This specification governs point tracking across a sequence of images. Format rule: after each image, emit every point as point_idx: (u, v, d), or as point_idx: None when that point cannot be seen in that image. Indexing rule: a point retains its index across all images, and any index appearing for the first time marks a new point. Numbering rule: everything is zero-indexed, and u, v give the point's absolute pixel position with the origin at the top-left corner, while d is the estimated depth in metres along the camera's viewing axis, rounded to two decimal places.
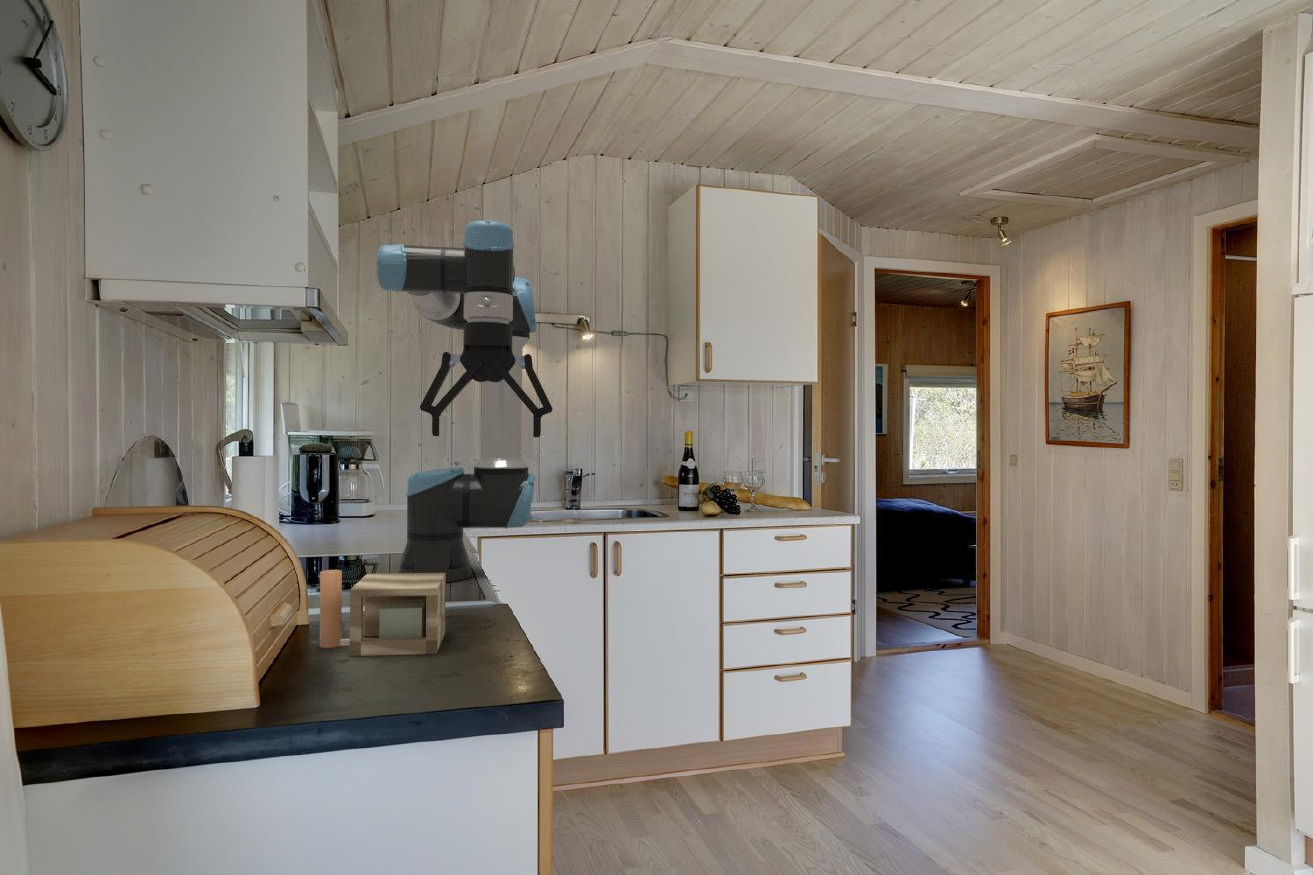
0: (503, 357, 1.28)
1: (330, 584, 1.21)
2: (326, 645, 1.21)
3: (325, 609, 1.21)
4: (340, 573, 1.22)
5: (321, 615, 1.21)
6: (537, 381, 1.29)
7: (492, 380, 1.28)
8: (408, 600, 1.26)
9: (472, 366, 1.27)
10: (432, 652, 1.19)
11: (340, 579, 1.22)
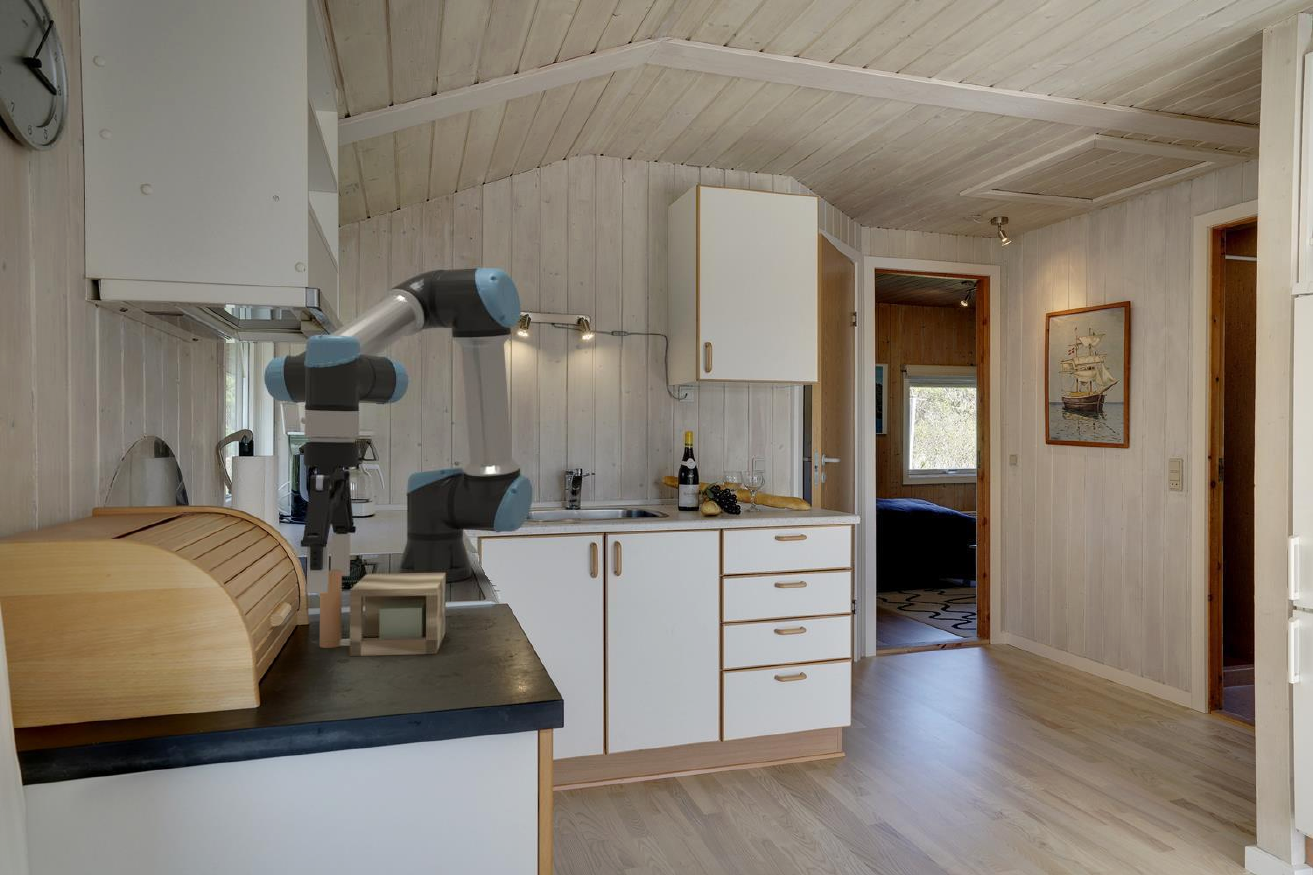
0: None
1: (330, 584, 1.21)
2: (326, 645, 1.21)
3: (325, 609, 1.21)
4: (340, 573, 1.22)
5: (321, 615, 1.21)
6: (308, 506, 1.14)
7: None
8: (408, 600, 1.26)
9: None
10: (432, 652, 1.19)
11: (340, 579, 1.22)
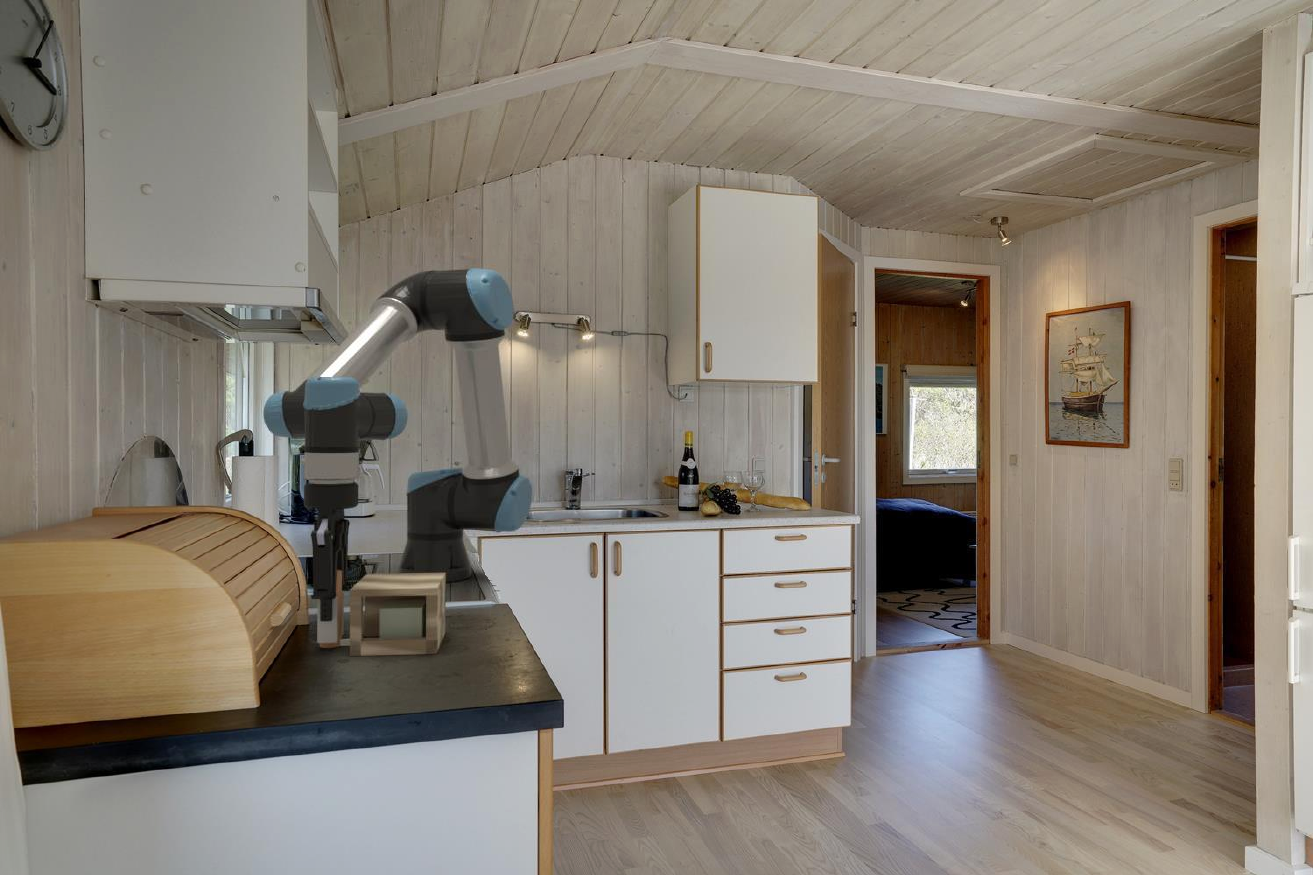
0: None
1: None
2: (326, 645, 1.21)
3: None
4: (340, 573, 1.22)
5: None
6: (313, 561, 1.17)
7: None
8: (408, 600, 1.26)
9: None
10: (432, 652, 1.19)
11: (340, 579, 1.22)
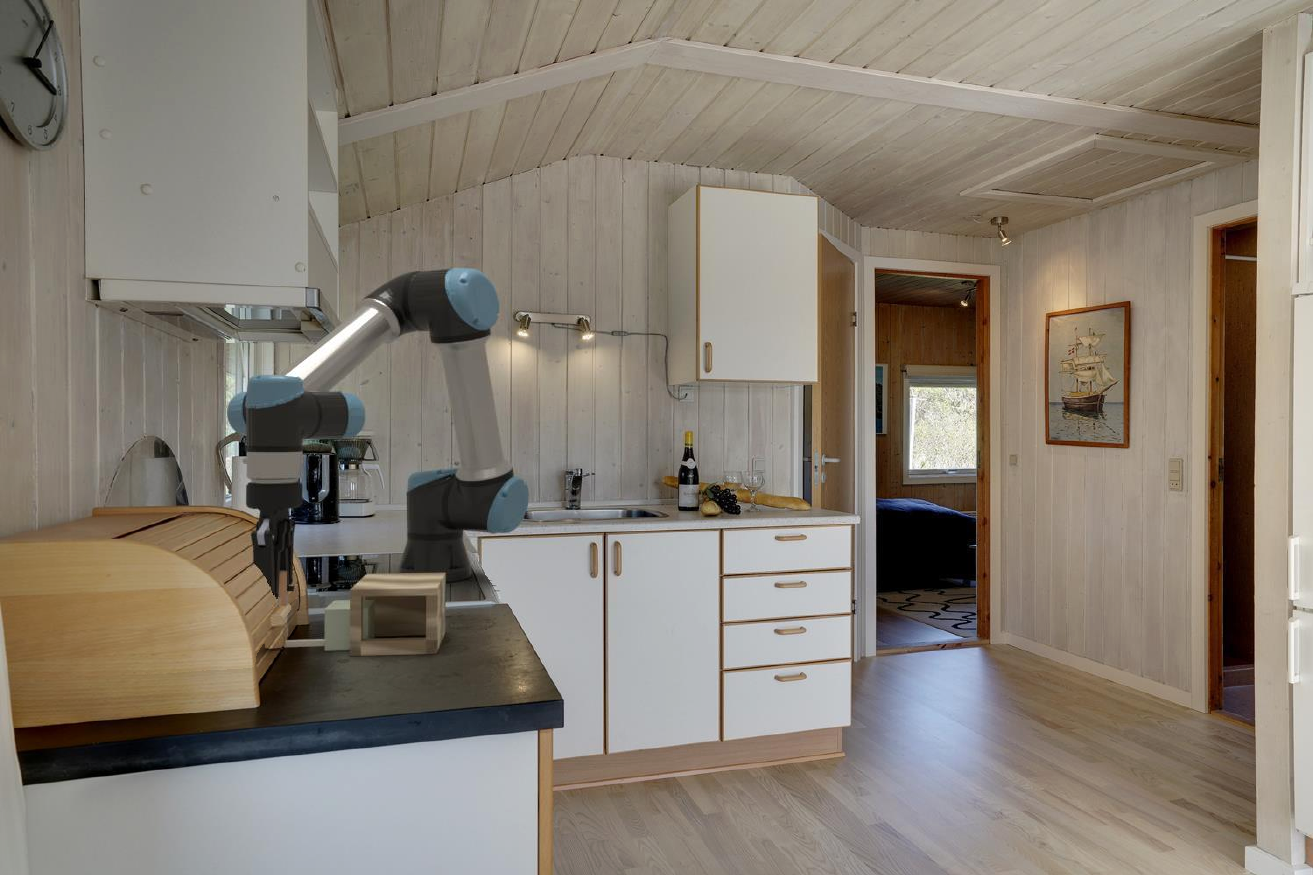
0: None
1: None
2: None
3: None
4: (285, 574, 1.21)
5: None
6: None
7: None
8: None
9: None
10: (432, 652, 1.19)
11: (285, 580, 1.21)
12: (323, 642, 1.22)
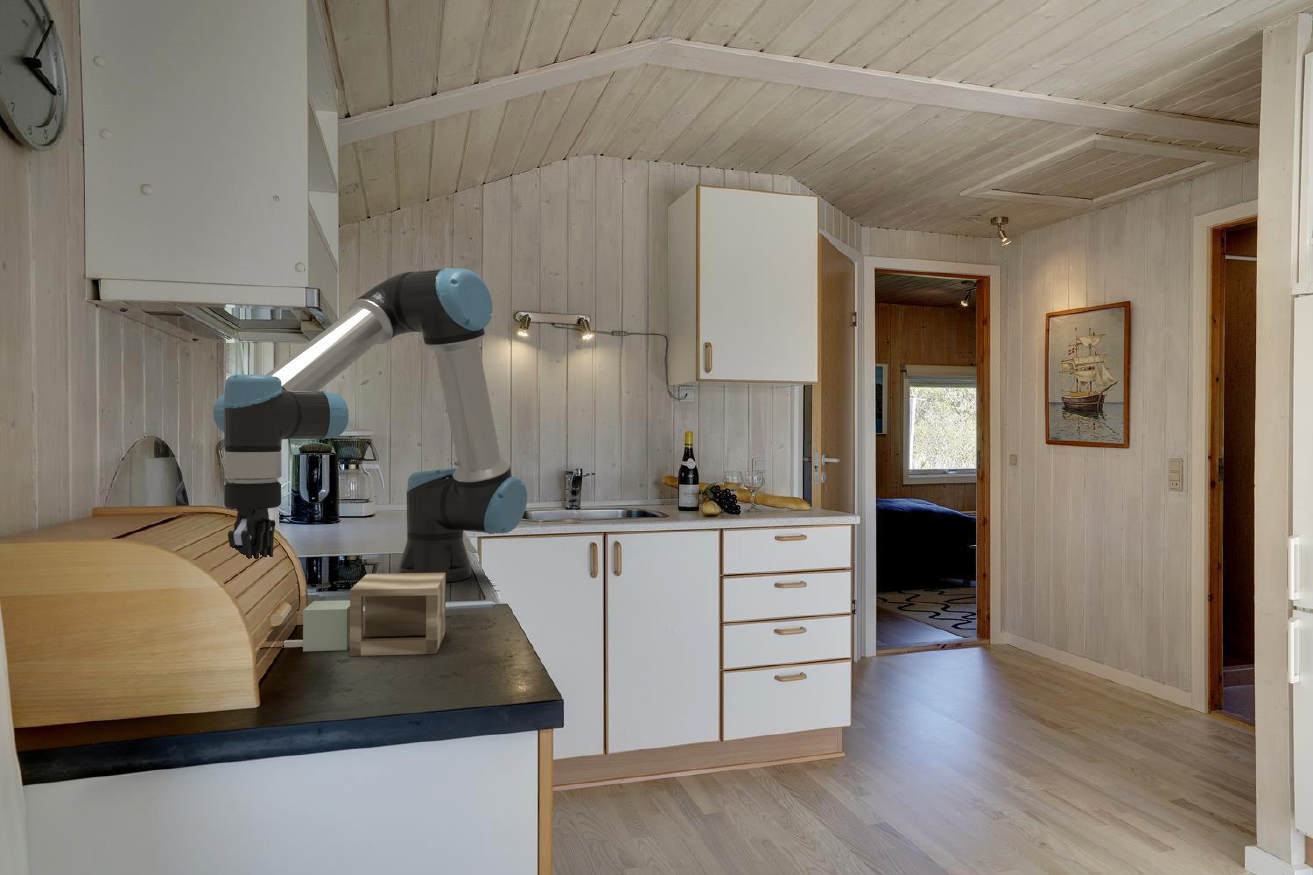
0: None
1: None
2: None
3: None
4: None
5: None
6: None
7: None
8: (335, 601, 1.25)
9: None
10: (432, 652, 1.19)
11: None
12: (302, 642, 1.21)
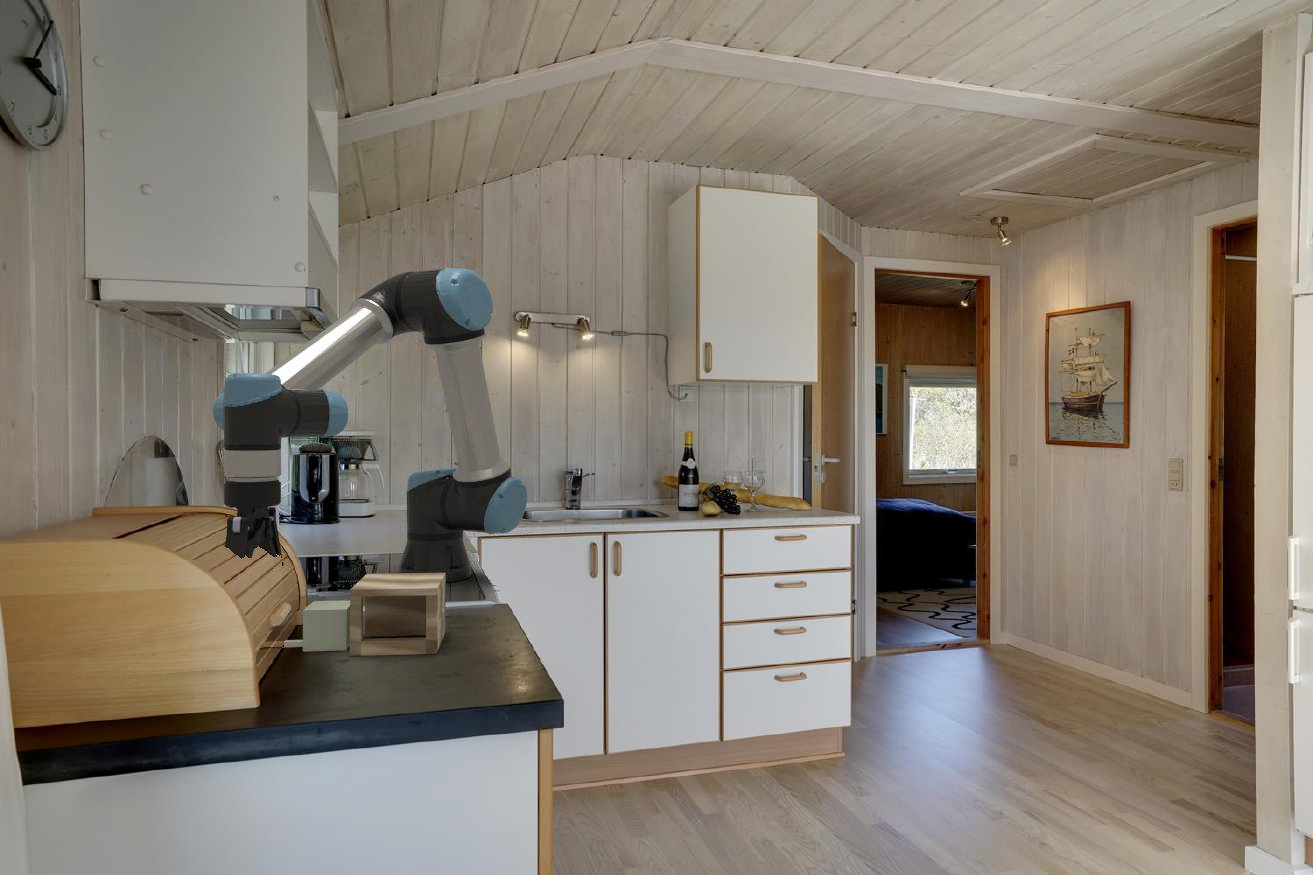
0: None
1: None
2: None
3: None
4: None
5: None
6: None
7: None
8: (335, 601, 1.25)
9: None
10: (432, 652, 1.19)
11: None
12: (302, 643, 1.21)
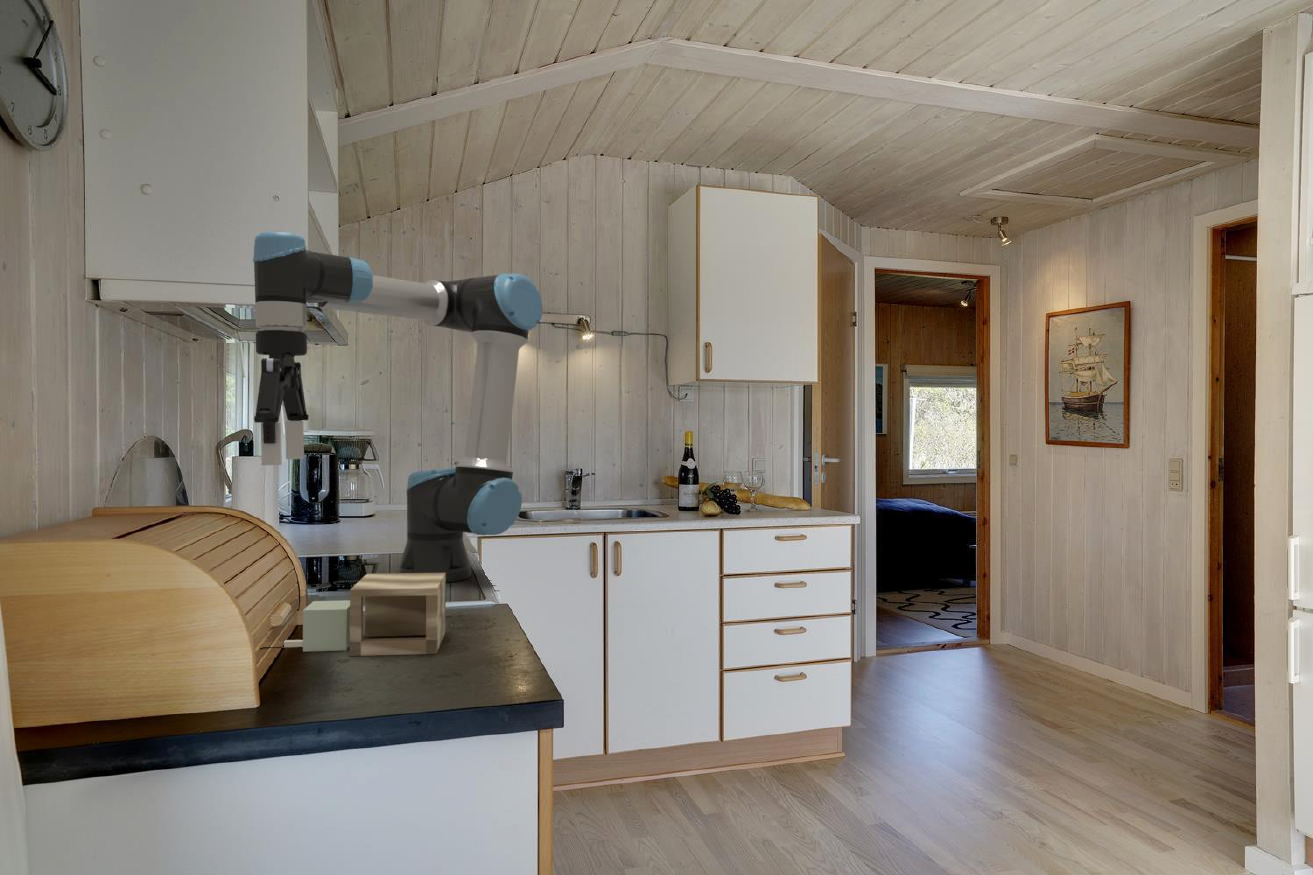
0: None
1: None
2: None
3: None
4: None
5: None
6: None
7: None
8: (335, 601, 1.25)
9: None
10: (432, 652, 1.19)
11: None
12: (302, 643, 1.21)
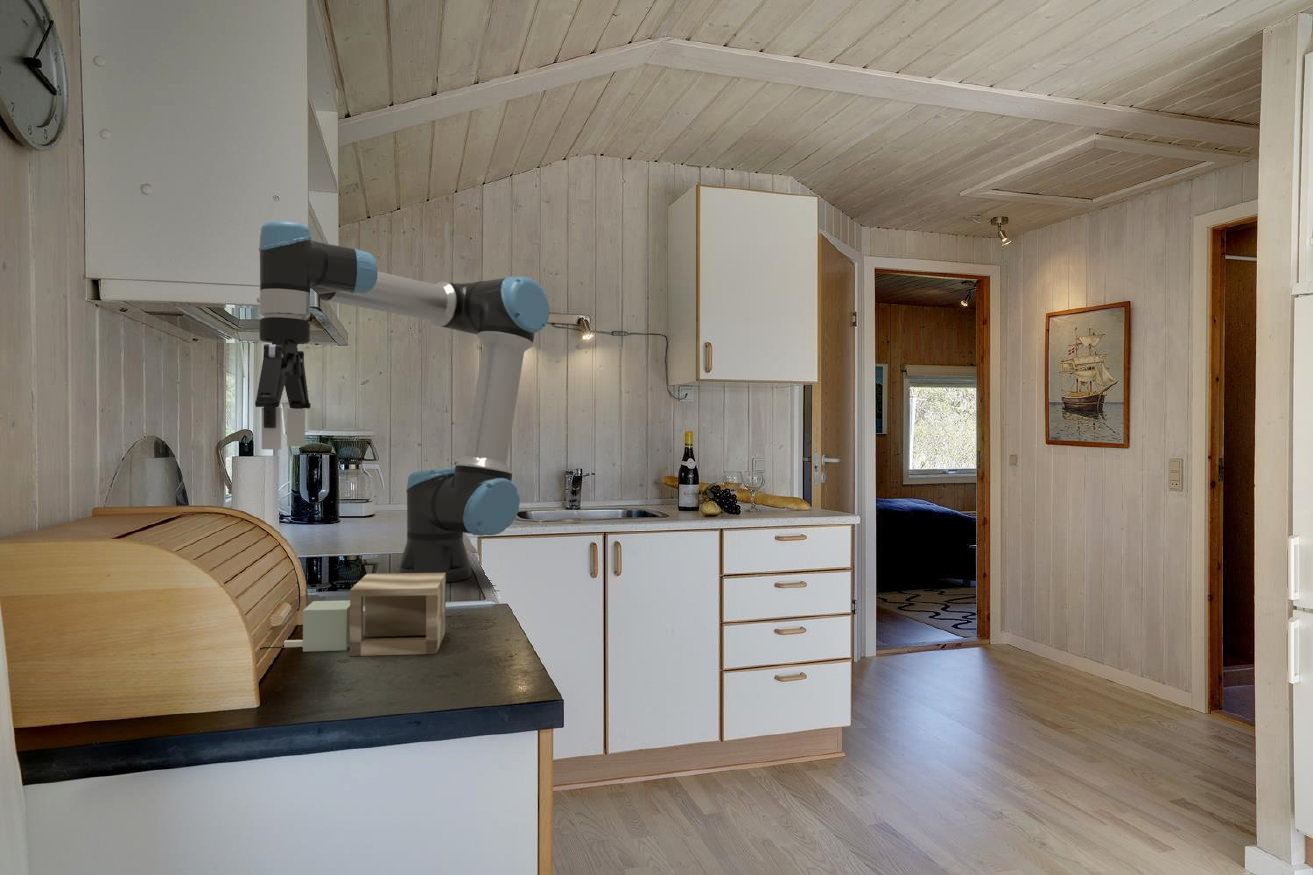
0: None
1: None
2: None
3: None
4: None
5: None
6: None
7: None
8: (335, 601, 1.25)
9: None
10: (432, 652, 1.19)
11: None
12: (302, 643, 1.21)
